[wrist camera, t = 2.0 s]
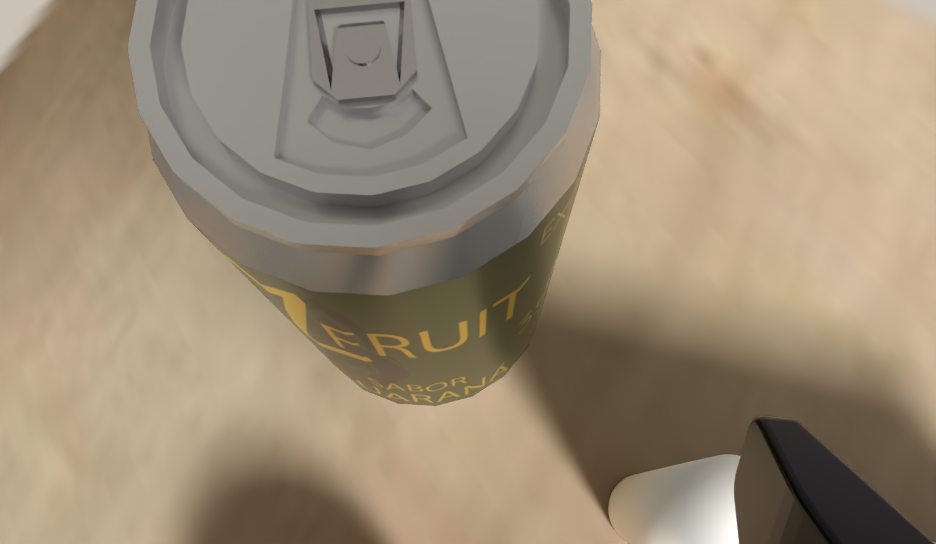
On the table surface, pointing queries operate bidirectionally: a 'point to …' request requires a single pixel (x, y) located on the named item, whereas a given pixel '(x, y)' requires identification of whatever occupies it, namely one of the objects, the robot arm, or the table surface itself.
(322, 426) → the table surface
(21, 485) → the table surface
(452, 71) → the beer can
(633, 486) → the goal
